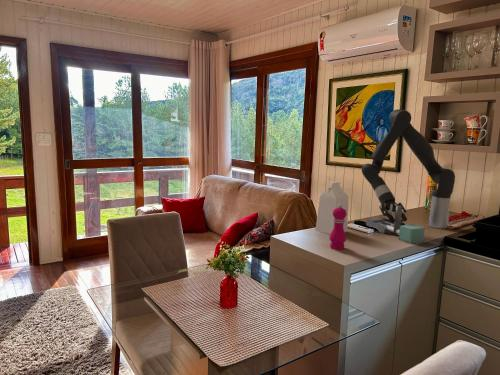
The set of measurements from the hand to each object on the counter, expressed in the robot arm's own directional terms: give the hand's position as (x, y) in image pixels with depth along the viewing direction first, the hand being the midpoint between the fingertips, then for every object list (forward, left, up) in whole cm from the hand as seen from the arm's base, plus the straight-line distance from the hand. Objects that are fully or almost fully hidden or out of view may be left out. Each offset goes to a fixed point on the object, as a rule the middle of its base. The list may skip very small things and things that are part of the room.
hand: (399, 221), depth 185 cm
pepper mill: (+42, +3, -8) cm, 43 cm away
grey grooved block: (0, -12, -8) cm, 14 cm away
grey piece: (0, +1, -7) cm, 7 cm away
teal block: (0, +7, -8) cm, 11 cm away
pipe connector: (-11, -13, -8) cm, 19 cm away
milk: (+27, -20, -8) cm, 34 cm away
